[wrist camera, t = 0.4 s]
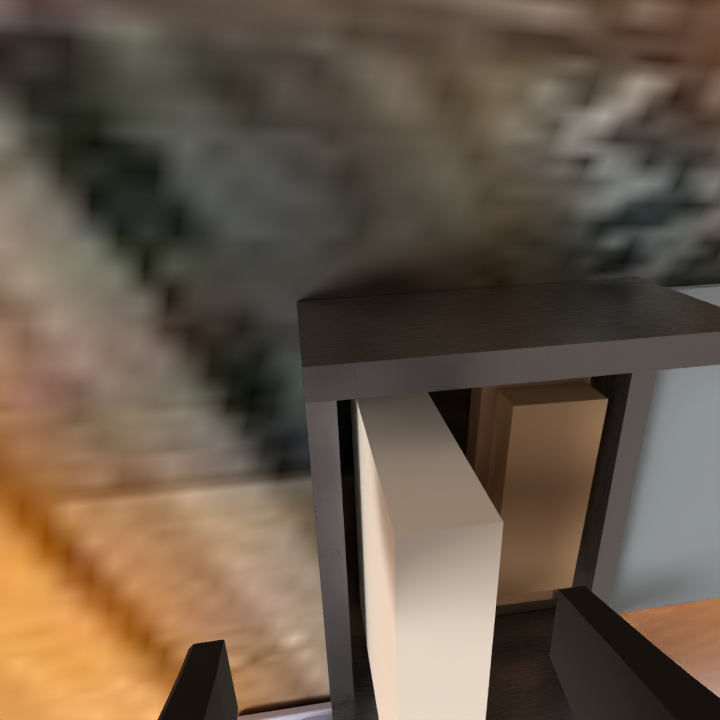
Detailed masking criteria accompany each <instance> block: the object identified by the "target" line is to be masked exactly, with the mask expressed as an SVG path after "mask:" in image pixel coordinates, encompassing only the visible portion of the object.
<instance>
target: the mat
mask: <svg viewBox="0 0 720 720" xmlns="http://www.w3.org/2000/svg"><path fill="white" fill-rule="evenodd" d="M667 288H669V289H672V290H675V291H678V292H680V293H683V294H686V295H689V296H692V297H694V298H697V299H700V300H703V301H705V302H708V303H711V304H714V305H717V306H719V307H720V284H706V285H693V286H679V287H667ZM715 598H720V365H710V366H699V367H689V368H678V369H667V370H657V375H656V380H655V385H654V390H653V394H652V399H651V404H650V409H649V414H648V419H647V423H646V428H645V433H644V438H643V443H642V448H641V452H640V457H639V462H638V467H637V472H636V477H635V481H634V486H633V491H632V496H631V501H630V506H629V510H628V515H627V520H626V525H625V530H624V535H623V539H622V544H621V549H620V554H619V559H618V564H617V569H616V573H615V578H614V583H613V588H612V593H611V598H610V602H609V607H610V608H611V609H612V610H614V611H615V612H616V613H621V612H628V611H635V610H641V609H648V608H655V607H661V606H668V605H675V604H681V603H688V602H695V601H701V600H708V599H715Z"/></svg>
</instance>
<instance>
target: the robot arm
mask: <svg viewBox="0 0 720 720" xmlns="http://www.w3.org/2000/svg"><path fill="white" fill-rule="evenodd" d="M550 658H551V661H552V663H553V666H554V668H555V671H556V673H557V676H558V678H559V681H560V683H561V686H562V688H563V690H564V693H565V695H566V697H567V700H568V702H569V704H570V707H571V709H572V711H573V713H574V714H575V716H576V718H577V720H720V698H719V697H718V696H716V695H715V694H714V693H712V692H711V691H710V690H709V689H707V688H706V687H705V686H703V685H702V684H701V683H700V682H698V681H697V680H696V679H695V678H693V677H692V676H691V675H690V674H688V673H687V672H686V671H685V670H684V669H682V668H681V667H680V666H679V665H677V664H676V663H675V662H674V661H673V660H671V659H670V658H669V657H668V656H666V655H665V654H664V653H663V652H662V651H660V650H659V649H658V648H657V647H656V646H654V645H653V644H652V643H651V642H650V641H649V640H647V639H646V638H645V637H644V636H643V635H641V634H640V633H639V632H638V631H637V630H636V629H634V628H633V627H632V626H631V625H630V624H629V623H627V622H626V621H625V620H624V619H623V618H622V617H621V616H619V615H618V614H617V613H616V612H615V611H614V610H612V609H611V608H610V607H609V606H608V605H607V604H605V603H604V602H603V601H602V600H601V599H600V598H599V597H597V596H596V595H595V594H594V593H593V592H592V591H590V590H589V589H588V588H587V587H586V586H579V587H573V588H566V589H559V590H558V597H557V605H556V612H555V619H554V627H553V634H552V641H551V649H550ZM237 713H238V706H237V701H236V696H235V691H234V686H233V681H232V676H231V671H230V666H229V661H228V656H227V651H226V646H225V641H224V640H218V641H211V642H204V643H197V644H193V645H192V646H191V647H190V648H189V650H188V653H187V655H186V658H185V660H184V663H183V665H182V667H181V670H180V672H179V674H178V677H177V679H176V681H175V684H174V686H173V688H172V690H171V692H170V695H169V697H168V699H167V701H166V703H165V705H164V707H163V710H162V712H161V714H160V716H159V718H158V720H332V708H331V702H326V703H319V704H313V705H307V706H301V707H294V708H288V709H282V710H275V711H269V712H263V713H257V714H250V715H244V716H239V717H237Z"/></svg>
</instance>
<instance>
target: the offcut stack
mask: <svg viewBox="0 0 720 720" xmlns="http://www.w3.org/2000/svg"><path fill="white" fill-rule="evenodd" d="M590 382H591V377H582V378H571V379H561V380H550V381H539V382H529V383H518V384H507V385H497V386H486V387H475V388H472V389H471V402H470V414H469V426H468V438H467V450H466V459H467V461H468V462H469V464H470V466H471V467H472V469H473V471H474V473H475V474H476V476H477V478H478V479H479V481H480V483H481V485H482V486H483V488H484V490H485V491H486V493H487V495H488V497H489V498H490V500H491V502H492V503H493V505H494V507H495V509H496V510H497V512H498V514H499V515H500V517H501V519H502V520H503V533H502V544H501V555H500V566H499V577H498V588H497V599H496V606H499V605H507V604H515V603H523V602H531V601H539V600H547V599H552V596H553V590H554V589H562V588H570V587H572V583H573V578H574V573H575V567H576V562H577V557H578V552H579V547H580V542H581V537H582V531H583V526H584V521H585V516H586V511H587V506H588V501H589V495H590V490H591V485H592V480H593V475H594V470H595V465H596V459H597V454H598V449H599V444H600V439H601V434H602V429H603V423H604V418H605V413H606V408H607V403H608V398H606V397H605V396H604V395H602V394H601V393H600V392H599V391H597V390H596V389H595V388H593V387H592V386H591V385H590Z"/></svg>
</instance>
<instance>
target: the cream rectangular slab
mask: <svg viewBox="0 0 720 720" xmlns="http://www.w3.org/2000/svg"><path fill="white" fill-rule="evenodd" d="M350 400H351V421H352V443H353V464H354V485H355V506H356V527H357V548H358V569H359V590H360V607H361V613H362V619H363V625H364V632H365V638H366V644H367V650H368V656H369V662H370V668H371V674H372V680H373V687H374V693H375V699H376V705H377V711H378V717H379V720H486V709H487V698H488V687H489V676H490V665H491V654H492V643H493V632H494V621H495V610H496V599H497V588H498V577H499V566H500V555H501V544H502V533H503V520H502V519H501V517H500V515H499V514H498V512H497V510H496V509H495V507H494V505H493V503H492V502H491V500H490V498H489V497H488V495H487V493H486V491H485V490H484V488H483V486H482V485H481V483H480V481H479V479H478V478H477V476H476V474H475V473H474V471H473V469H472V467H471V466H470V464H469V462H468V461H467V459H466V457H465V456H464V454H463V452H462V450H461V449H460V447H459V445H458V444H457V442H456V440H455V438H454V437H453V435H452V433H451V432H450V430H449V428H448V426H447V425H446V423H445V421H444V420H443V418H442V416H441V414H440V413H439V411H438V409H437V408H436V406H435V404H434V403H433V401H432V399H431V397H430V396H429V394H428V392H422V393H411V394H401V395H390V396H379V397H369V398H358V399H350Z"/></svg>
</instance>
